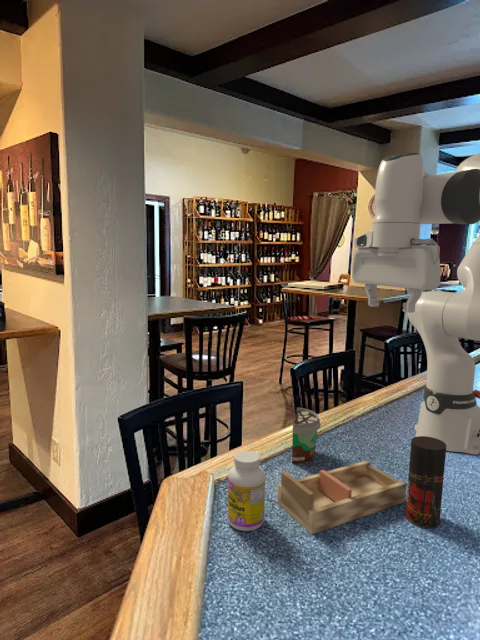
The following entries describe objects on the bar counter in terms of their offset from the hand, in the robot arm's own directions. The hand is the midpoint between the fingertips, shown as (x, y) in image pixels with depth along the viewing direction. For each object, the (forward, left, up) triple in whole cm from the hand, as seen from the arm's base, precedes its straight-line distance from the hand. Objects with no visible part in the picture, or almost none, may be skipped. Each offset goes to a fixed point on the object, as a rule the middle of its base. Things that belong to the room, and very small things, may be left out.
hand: (390, 309), depth 92 cm
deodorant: (+2, +13, -38) cm, 40 cm away
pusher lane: (+12, +2, -38) cm, 40 cm away
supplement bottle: (+32, -1, -38) cm, 50 cm away
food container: (+6, -18, -38) cm, 43 cm away
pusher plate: (+14, +2, -36) cm, 39 cm away
